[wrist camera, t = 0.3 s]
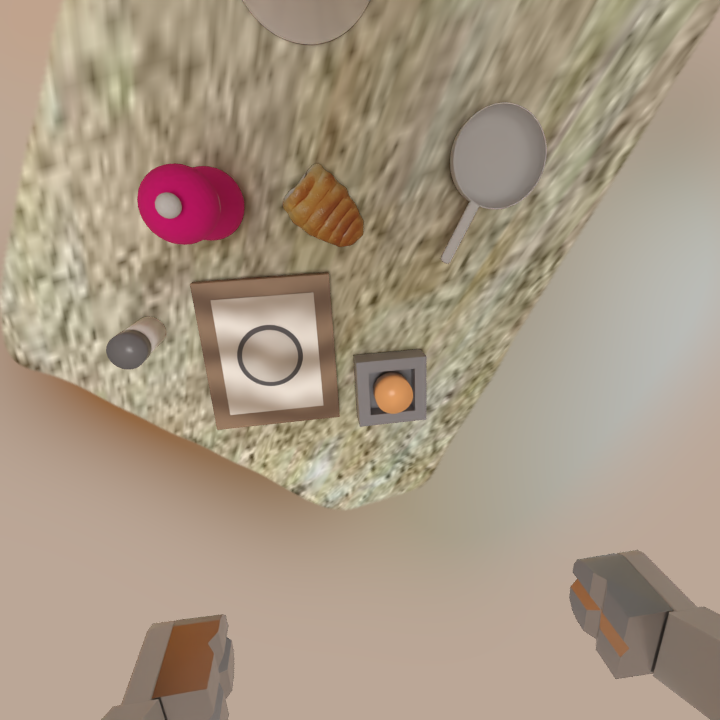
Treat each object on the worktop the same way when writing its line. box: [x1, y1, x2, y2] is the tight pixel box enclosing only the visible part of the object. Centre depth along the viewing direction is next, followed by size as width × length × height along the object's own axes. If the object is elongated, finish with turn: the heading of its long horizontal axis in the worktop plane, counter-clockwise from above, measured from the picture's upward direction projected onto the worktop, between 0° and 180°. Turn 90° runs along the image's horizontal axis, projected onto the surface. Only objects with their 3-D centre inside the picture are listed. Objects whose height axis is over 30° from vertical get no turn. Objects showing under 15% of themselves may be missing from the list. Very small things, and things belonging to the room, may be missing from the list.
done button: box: [373, 372, 413, 414], centre depth 56 cm, size 5×5×2 cm
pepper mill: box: [137, 164, 244, 245], centre depth 40 cm, size 7×7×20 cm
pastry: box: [283, 164, 363, 247], centre depth 49 cm, size 9×7×4 cm
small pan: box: [441, 102, 547, 264], centre depth 51 cm, size 11×18×4 cm, turn 153°
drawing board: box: [190, 272, 340, 430], centre depth 55 cm, size 19×16×2 cm
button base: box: [353, 349, 426, 427], centre depth 58 cm, size 9×9×3 cm
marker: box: [106, 317, 166, 369], centre depth 49 cm, size 4×4×8 cm
